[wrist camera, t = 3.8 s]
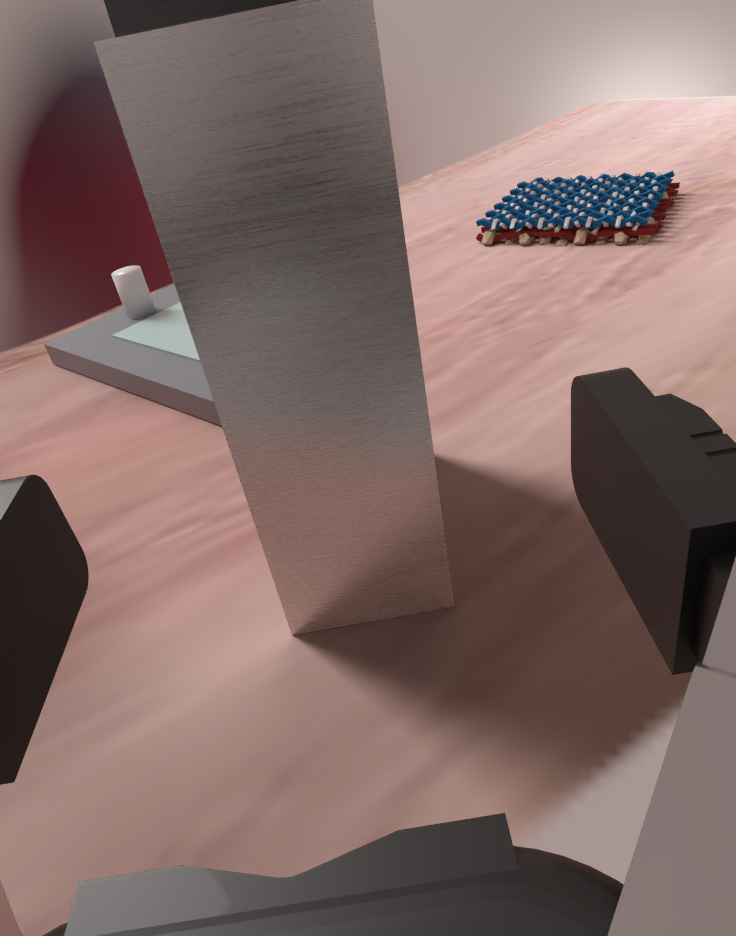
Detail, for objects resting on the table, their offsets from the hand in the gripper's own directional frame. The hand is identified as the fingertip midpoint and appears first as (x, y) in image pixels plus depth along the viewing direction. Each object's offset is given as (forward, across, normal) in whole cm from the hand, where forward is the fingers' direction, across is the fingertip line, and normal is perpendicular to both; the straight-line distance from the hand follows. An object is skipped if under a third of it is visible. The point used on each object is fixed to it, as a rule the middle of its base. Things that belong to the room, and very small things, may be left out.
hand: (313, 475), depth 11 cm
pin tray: (+26, +7, +8) cm, 28 cm away
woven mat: (+36, -16, +9) cm, 40 cm away
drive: (+8, 0, +8) cm, 12 cm away
